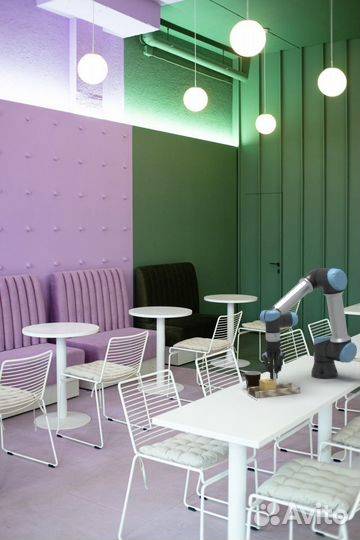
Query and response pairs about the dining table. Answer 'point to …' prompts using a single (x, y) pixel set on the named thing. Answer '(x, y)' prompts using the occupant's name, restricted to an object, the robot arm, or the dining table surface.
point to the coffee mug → (252, 378)
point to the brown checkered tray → (274, 391)
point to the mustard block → (267, 384)
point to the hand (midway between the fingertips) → (274, 385)
